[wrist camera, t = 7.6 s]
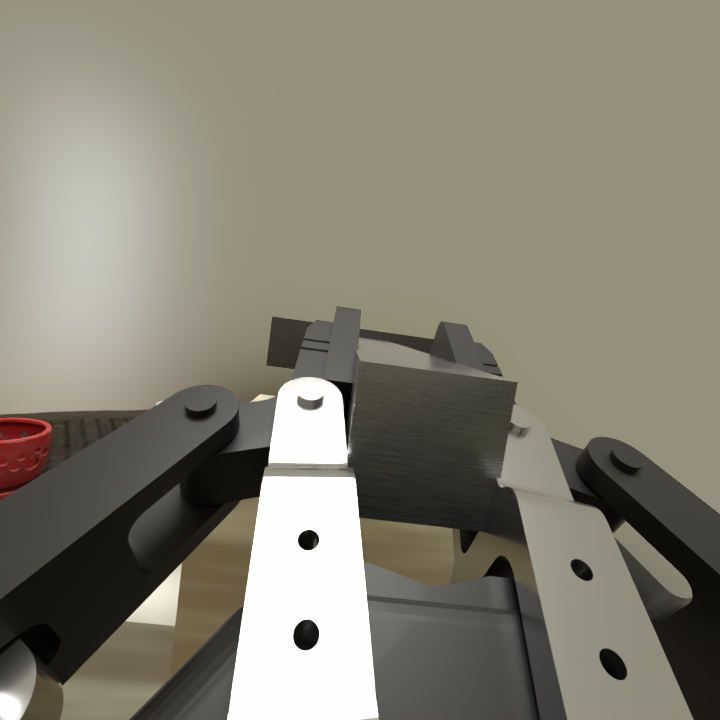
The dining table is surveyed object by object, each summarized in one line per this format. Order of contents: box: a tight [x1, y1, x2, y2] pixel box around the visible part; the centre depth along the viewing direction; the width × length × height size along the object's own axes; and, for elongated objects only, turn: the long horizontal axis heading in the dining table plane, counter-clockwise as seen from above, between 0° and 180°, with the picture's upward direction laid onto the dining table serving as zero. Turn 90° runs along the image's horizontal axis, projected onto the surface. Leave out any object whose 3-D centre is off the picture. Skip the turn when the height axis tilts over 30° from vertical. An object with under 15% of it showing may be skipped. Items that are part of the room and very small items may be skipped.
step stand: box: [60, 394, 454, 720], centre depth 22 cm, size 12×28×32 cm, turn 92°
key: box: [267, 317, 517, 532], centre depth 16 cm, size 20×12×3 cm, turn 2°
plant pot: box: [0, 418, 52, 500], centre depth 66 cm, size 13×13×12 cm
